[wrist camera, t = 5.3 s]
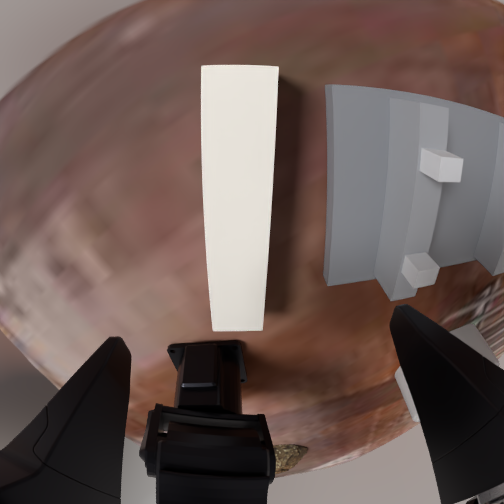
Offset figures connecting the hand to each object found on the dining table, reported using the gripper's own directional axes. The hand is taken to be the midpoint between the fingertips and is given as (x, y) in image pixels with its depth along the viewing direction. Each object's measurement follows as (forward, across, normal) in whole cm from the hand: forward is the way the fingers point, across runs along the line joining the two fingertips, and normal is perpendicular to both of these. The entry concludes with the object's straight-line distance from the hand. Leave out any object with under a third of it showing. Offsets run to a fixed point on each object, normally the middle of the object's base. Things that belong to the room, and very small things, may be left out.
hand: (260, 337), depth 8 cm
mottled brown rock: (+11, 0, +49) cm, 51 cm away
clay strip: (+10, 0, 0) cm, 10 cm away
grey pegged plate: (+10, -15, -1) cm, 18 cm away
